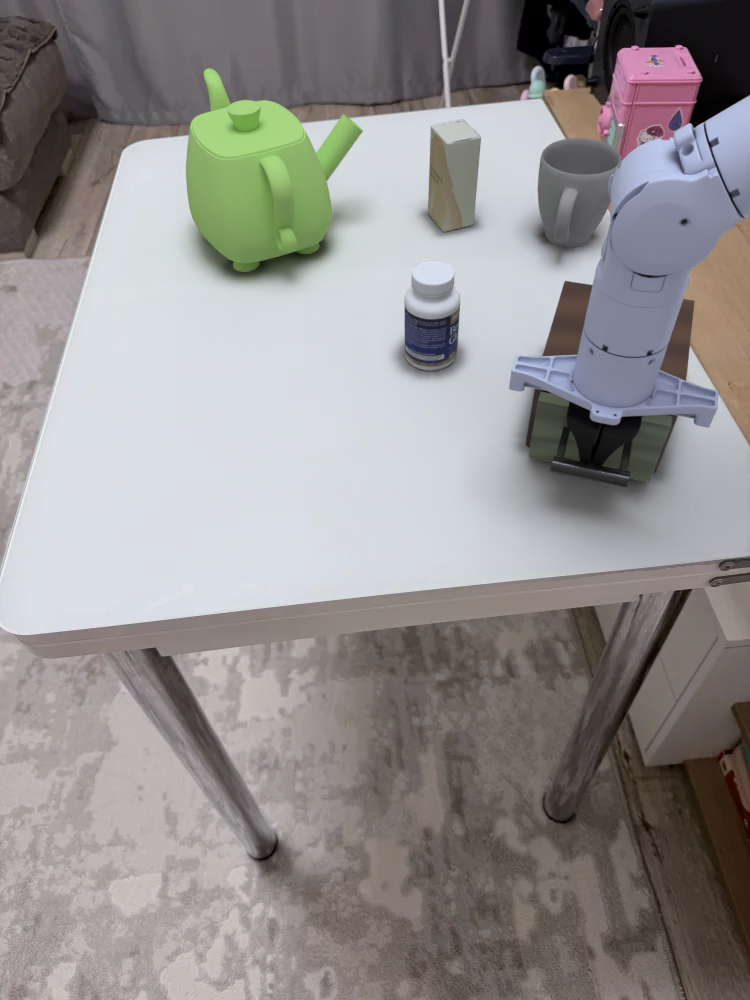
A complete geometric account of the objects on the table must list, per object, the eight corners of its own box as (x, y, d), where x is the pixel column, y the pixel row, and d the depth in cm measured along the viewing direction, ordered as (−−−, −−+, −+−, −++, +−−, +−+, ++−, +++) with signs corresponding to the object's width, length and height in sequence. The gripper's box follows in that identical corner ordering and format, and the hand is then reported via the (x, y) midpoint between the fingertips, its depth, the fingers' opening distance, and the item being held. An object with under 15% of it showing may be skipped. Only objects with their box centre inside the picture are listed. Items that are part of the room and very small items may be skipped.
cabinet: (656, 472, 65) (684, 400, 58) (524, 445, 68) (537, 373, 61) (669, 373, 73) (694, 300, 66) (551, 353, 76) (564, 280, 69)
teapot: (403, 253, 88) (402, 115, 76) (231, 305, 83) (200, 166, 71) (322, 165, 103) (310, 37, 91) (171, 204, 98) (137, 74, 85)
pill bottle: (458, 372, 74) (463, 288, 67) (404, 372, 75) (404, 290, 67) (455, 337, 78) (460, 255, 70) (404, 338, 78) (403, 256, 70)
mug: (539, 211, 93) (550, 133, 86) (610, 222, 91) (628, 142, 83) (516, 263, 86) (526, 183, 79) (593, 276, 84) (610, 195, 76)
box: (426, 213, 94) (428, 123, 85) (458, 205, 95) (462, 116, 86) (443, 234, 91) (447, 142, 82) (475, 226, 91) (482, 135, 83)
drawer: (643, 526, 60) (665, 471, 55) (516, 498, 62) (526, 442, 57) (662, 387, 70) (682, 329, 65) (552, 368, 73) (563, 310, 68)
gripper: (508, 348, 50) (491, 481, 60) (738, 389, 46) (677, 522, 57) (529, 288, 54) (509, 422, 64) (740, 322, 50) (684, 457, 61)
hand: (589, 465), depth 61 cm, fingers closed, pressing on drawer
